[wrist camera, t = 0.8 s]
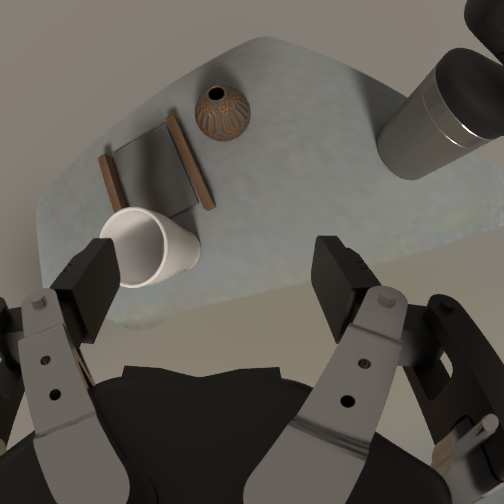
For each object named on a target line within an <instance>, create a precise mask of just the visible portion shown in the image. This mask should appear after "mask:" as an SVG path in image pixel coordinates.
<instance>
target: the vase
mask: <svg viewBox="0 0 504 504" xmlns="http://www.w3.org/2000/svg"><path fill="white" fill-rule="evenodd" d="M250 115H251V113H250V106H249V103H248V101H247V99H246V98H245V96H244V95H243V94H242V93H241V92H240V91H239V90H237V89H235V88H233V87H230V86H225V85H214V86H211V87H210V88H209V89H208V90H206V91H205V92H204V93H203V94H202V95H201V96H200V97H199V99H198V101H197V103H196V107H195V119H196V122H197V125H198V127H199V128H200V130H201V131H202V132H203V133H204V134H205V135H206V136H208V137H209V138H211V139H214V140H217V141H230V140H233V139H235V138H237V137H239V136H240V135H241V134H242V133H243V132H244V131H245V130H246V128H247V127H248V124H249V122H250Z"/></svg>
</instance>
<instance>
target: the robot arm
mask: <svg viewBox="0 0 504 504" xmlns="http://www.w3.org/2000/svg"><path fill="white" fill-rule="evenodd" d="M464 19H465V22H466V25H467V26H468V28H469V30H470V31H471V32H472V33H473V34H474V35H475V36H476V37H477V38H478V40H479V41H480V42H481V43H482V44H483V45H484V46H485V47H486V48H487V49H488V50H489V51H490V52H491V53H492V54H494V56H495V57H496V58H497V59H498V60H499V61H500V62H501V63H502V64H503V65H504V0H467V3H466V5H465V10H464ZM503 65H500V64H498V63H496V62H494V61H492V60H490V59H488V58H487V57H485V56H483V55H481V54H479V53H477V52H475V51H473V50H469V49H465V48H455V49H453V50H450V51H449V52H448V53H446V54H445V55H444V56H443V58H442V59H441V60H440V61H439V62H438V64H437V65H436V66H435V67H434V68H433V69H432V71H431V72H430V73H429V74H428V75H427V76H426V78H425V79H424V80H423V81H422V83H421V84H420V85H419V86H418V87H417V88H416V89H415V91H414V92H413V93H412V94H411V95H410V96H409V97H408V99H407V100H406V101H405V102H404V103H403V104H402V105H401V107H400V108H399V109H398V110H397V111H396V112H395V113H394V115H393V116H392V117H391V118H390V119H389V120H388V121H387V123H386V124H385V125H384V126H383V127H382V128H381V130H380V132H379V134H378V139H377V145H378V150H379V154H380V156H381V158H382V160H383V162H384V163H385V165H386V166H387V167H388V168H389V169H390V170H391V171H392V172H393V173H394V174H396V175H397V176H399V177H401V178H404V179H407V180H415V179H419V178H421V177H423V176H425V175H427V174H429V173H431V172H433V171H435V170H437V169H439V168H441V167H443V166H445V165H447V164H449V163H451V162H453V161H455V160H456V159H458V158H460V157H462V156H464V155H466V154H468V153H470V152H472V151H474V150H476V149H478V148H479V147H481V146H483V145H485V144H487V143H489V142H490V141H492V140H494V139H496V138H498V137H500V136H504V66H503ZM120 280H121V277H120V270H119V265H118V261H117V256H116V251H115V246H114V242H113V240H112V239H111V238H94V239H92V241H91V242H90V243H89V244H88V245H87V247H86V248H85V249H84V250H83V251H81V252H80V253H78V254H77V255H75V256H74V257H73V258H72V259H71V261H70V262H69V263H68V266H66V267H65V268H64V269H63V272H61V273H60V274H59V276H58V277H57V278H56V280H55V281H54V282H53V284H52V285H51V286H50V288H44V289H39V290H36V291H34V292H32V293H31V294H29V295H28V296H27V297H26V298H25V299H24V301H23V303H22V306H21V307H18V308H12V309H8V306H7V304H6V302H5V300H4V299H3V298H1V297H0V358H1V359H2V360H1V362H0V504H474V503H476V502H477V501H479V500H481V499H483V498H485V497H487V496H488V495H490V494H492V493H494V492H495V491H497V490H499V489H500V488H502V487H504V364H503V363H502V361H501V360H500V358H499V357H498V355H497V354H496V352H495V351H494V349H493V348H492V346H491V345H490V344H489V342H488V341H487V339H486V338H485V336H484V335H483V334H482V332H481V331H480V329H479V328H478V327H477V325H476V324H475V323H474V321H473V320H472V319H471V318H470V316H469V315H468V313H467V312H466V311H465V310H464V308H463V307H462V306H461V305H460V303H458V302H457V301H456V300H455V299H453V298H451V297H449V296H446V295H442V294H436V295H433V296H431V297H430V299H429V301H428V304H427V306H419V305H411V304H408V301H407V299H406V297H405V296H404V295H403V294H402V293H401V292H399V291H398V290H396V289H394V288H391V287H387V286H382V285H381V283H380V282H379V281H378V279H377V278H376V277H375V275H374V274H373V273H372V271H371V270H370V269H369V267H368V266H367V265H366V263H364V261H363V259H362V258H361V257H360V255H359V254H358V253H356V252H355V251H353V250H352V249H350V248H346V247H345V246H344V245H343V243H342V242H341V241H340V239H339V238H338V237H337V236H318V237H317V238H316V242H315V249H314V256H313V263H312V269H311V282H312V286H313V288H314V291H315V293H316V295H317V298H318V300H319V303H320V305H321V307H322V310H323V312H324V314H325V317H326V319H327V322H328V324H329V327H330V329H331V332H332V334H333V337H334V339H335V342H336V344H338V346H337V348H336V350H335V352H334V354H333V355H332V357H331V359H330V361H329V362H328V364H327V366H326V368H325V370H324V371H323V373H322V375H321V376H320V378H319V380H318V382H317V383H316V385H315V387H314V388H313V387H310V386H308V385H306V384H303V383H300V382H297V381H293V380H289V379H283V378H281V375H280V369H279V367H271V368H252V369H238V370H234V371H229V372H224V373H220V374H215V375H210V376H205V377H194V376H190V375H185V374H181V373H177V372H173V371H169V370H165V369H162V368H150V367H137V366H124V370H123V374H122V377H117V378H112V379H109V380H106V381H103V382H101V383H98V384H95V382H94V380H93V378H92V375H91V373H90V371H89V368H88V366H87V364H86V361H85V359H84V356H83V354H82V352H81V350H80V348H79V347H80V345H81V343H89V344H94V342H95V339H96V337H97V334H98V332H99V330H100V327H101V325H102V323H103V321H104V319H105V316H106V314H107V312H108V310H109V308H110V305H111V303H112V301H113V299H114V297H115V295H116V293H117V291H118V289H119V286H120ZM444 351H445V353H446V354H447V356H448V358H449V359H450V361H451V363H452V367H453V373H452V377H451V378H450V376H449V374H448V373H447V371H446V369H445V367H444V365H443V363H442V361H441V360H440V358H441V356H442V354H443V353H444ZM397 365H398V366H402V367H403V369H404V371H405V373H406V376H407V378H408V380H409V382H410V385H411V387H412V389H413V391H414V394H415V396H416V398H417V401H418V403H419V406H420V408H421V410H422V413H423V416H424V418H425V420H426V423H427V425H428V428H429V431H430V433H431V436H432V439H433V441H434V444H435V447H434V450H433V453H432V463H431V465H430V466H429V465H427V464H425V463H424V462H422V461H420V460H419V459H417V458H416V457H414V456H412V455H411V454H409V453H407V452H406V451H404V450H403V449H401V448H400V447H398V446H397V445H395V444H394V443H392V442H390V441H389V440H388V439H386V438H384V437H383V436H382V435H380V434H379V433H377V432H376V431H375V430H376V427H377V425H378V422H379V420H380V417H381V414H382V411H383V409H384V406H385V402H386V400H387V397H388V394H389V390H390V387H391V384H392V381H393V378H394V374H395V371H396V367H397ZM24 392H26V396H27V401H28V405H29V409H30V413H31V418H32V421H33V425H34V429H35V430H34V431H33V432H32V433H31V434H29V435H28V436H26V437H25V438H24V439H22V440H21V441H20V442H18V443H17V444H16V445H14V446H13V447H12V448H11V449H9V450H8V451H7V450H6V447H7V443H8V440H9V436H10V433H11V430H12V426H13V423H14V420H15V417H16V414H17V411H18V408H19V405H20V402H21V400H22V397H23V394H24Z"/></svg>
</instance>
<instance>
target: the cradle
mask: <svg viewBox="0 0 504 504" xmlns="http://www.w3.org/2000/svg"><path fill="white" fill-rule="evenodd" d="M166 121H167V123H168V125H169V128H170V130H171V133H172V135H173V138H174V140H175V142H176V145H177V147H178V149H179V152H180V154H181V157H182V159H183V161H184V164H185V166H186V168H187V171H188V173H189V175H190V178H191V180H192V182H193V185H194V187H195V189H196V191H197V194H198V196H199V198H200V201H201V203H202V205H203V207H204V209H206V210H207V211H209V210H211V209H213V208H215V207H216V205H215V203H214V201H213V199H212V196H211V194H210V192H209V190H208V187H207V185H206V183H205V181H204V178H203V176H202V174H201V172H200V169H199V167H198V165H197V163H196V160H195V158H194V156H193V154H192V151H191V149H190V147H189V144H188V142H187V140H186V138H185V135H184V133H183V131H182V128H181V126H180V124H179V122H178V120H177V119H176V117H175V116H174V114H172V115H170V116H168V117H166ZM114 156H115V159H116V162H117V166H118V169H119V172H120V175H121V178H122V181H123V184H124V187H125V190H126V193H127V196H128V199H129V201H130V204H131V207H141V208H145V209H149V210H152V211H155V212H158V213H160V214H162V215H164V216H166V217H168V218H170V217H172V216H174V215H176V214H178V213H180V212H182V211H184V210H186V209H188V208H190V207H192V206H194V205H196V204H198V203H199V201H198V199H197V197H196V194H195V192H194V190H193V187H192V185H191V183H190V180H189V178H188V176H187V173H186V171H185V169H184V166H183V164H182V162H181V159H180V157H179V155H178V152H177V150H176V147H175V145H174V143H173V140H172V138H171V135H170V133H169V130H168V128H167V126H166V124H163V125H161V126H160V127H158V128H156V129H154V130H152V131H150V132H149V133H147V134H145V135H143V136H141V137H140V138H138V139H136V140H135V141H133V142H131V143H129V144H128V145H126V146H124V147H123V148H121V149H120V150H118V151H116V152H115V153H114ZM98 161H99V164H100V168H101V171H102V175H103V178H104V181H105V185H106V188H107V191H108V194H109V197H110V201H111V204H112V207H113V210H114V213H116V212H117V211H119V210H121V209H124V208H127V207H128V204H127V202H126V199H125V196H124V193H123V190H122V187H121V184H120V181H119V178H118V175H117V172H116V168H115V165H114V162H113V159H112V158H111V157H109V156H107V155H106V154H103V155H101V156H100V157H98Z"/></svg>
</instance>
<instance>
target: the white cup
mask: <svg viewBox="0 0 504 504" xmlns="http://www.w3.org/2000/svg"><path fill="white" fill-rule="evenodd" d="M99 238H111V239H112V240H113V242H114V246H115V251H116V256H117V261H118V265H119V270H120V277H121V280H120V285H121V286H124V287H129V288H137V287H145V286H150V285H154V284H157V283H160V282H163V281H165V280H167V279H169V278H171V277H173V276H175V275H177V274H179V273H181V272H183V271H186V270H189V269H191V268H192V267H193V266H194V265H195V264H196V263H197V262H198V260H199V257H200V254H201V247H200V243H199V240H198V239H197V237H196V236H195V235H194V234H193V233H192V232H190V231H188V230H185V229H184V228H182V227H181V226H180V225H178V224H177V223H175V222H174V221H172V220H171V219H169V218H168V217H166V216H164V215H162V214H160V213H158V212H155V211H152V210H149V209H145V208H141V207H127V208H124V209H121V210H119V211H117V212H116V213H114V214H113V215H112V216H111V217H110V218H109V219H108V220H107V222H106V223H105V225H104V226H103V228H102V231H101V233H100V237H99Z"/></svg>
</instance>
